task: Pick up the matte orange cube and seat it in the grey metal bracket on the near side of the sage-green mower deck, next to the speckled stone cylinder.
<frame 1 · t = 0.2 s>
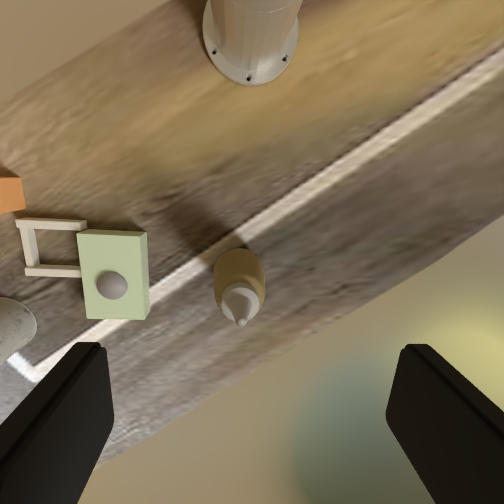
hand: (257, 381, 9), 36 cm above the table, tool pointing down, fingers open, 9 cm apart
speckled stone cylinder: (8, 321, 47), on the table
matte orange cube: (7, 192, 41), on the table
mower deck: (120, 271, 45), on the table
squeeze bottle: (238, 264, 46), on the table
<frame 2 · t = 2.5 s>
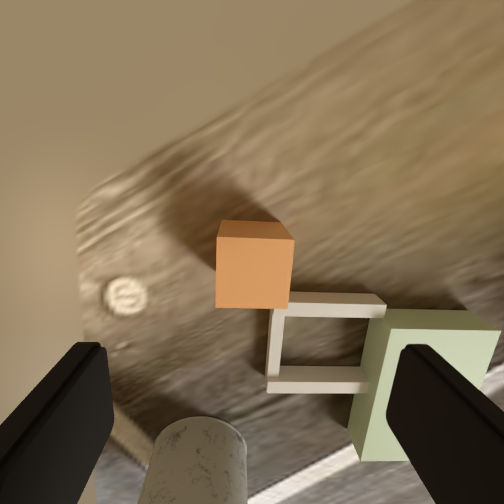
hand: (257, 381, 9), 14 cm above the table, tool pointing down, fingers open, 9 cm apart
speckled stone cylinder: (200, 449, 28), on the table
matte orange cube: (250, 249, 22), on the table
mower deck: (403, 373, 26), on the table
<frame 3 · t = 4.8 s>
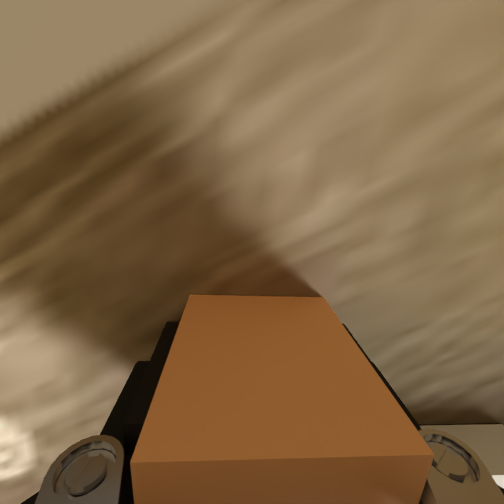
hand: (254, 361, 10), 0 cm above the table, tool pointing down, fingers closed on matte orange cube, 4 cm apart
matte orange cube: (254, 353, 10), on the table, touching gripper
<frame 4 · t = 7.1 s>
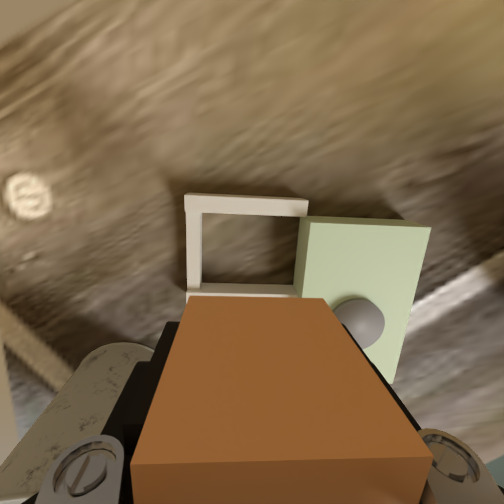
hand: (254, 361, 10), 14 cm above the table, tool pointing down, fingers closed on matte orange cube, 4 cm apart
speckled stone cylinder: (129, 382, 26), on the table
matte orange cube: (253, 353, 10), point 13 cm above the table, touching gripper
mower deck: (341, 294, 25), on the table
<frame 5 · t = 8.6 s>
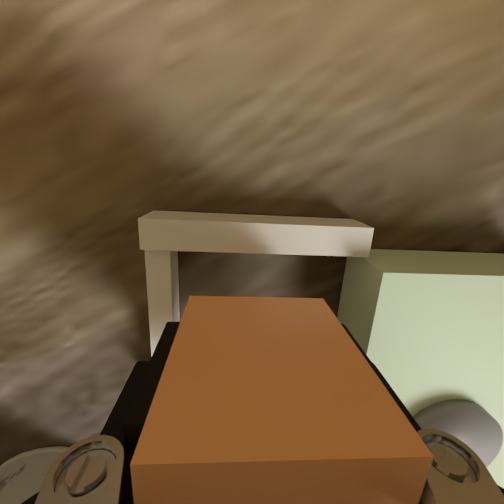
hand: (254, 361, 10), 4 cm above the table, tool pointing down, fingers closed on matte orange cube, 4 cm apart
speckled stone cylinder: (72, 499, 17), on the table
matte orange cube: (253, 354, 10), point 4 cm above the table, touching gripper
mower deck: (406, 370, 15), on the table
when the fingers open (3 cm above the table, at t = 9.7 s): matte orange cube drops 2 cm, resting in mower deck.
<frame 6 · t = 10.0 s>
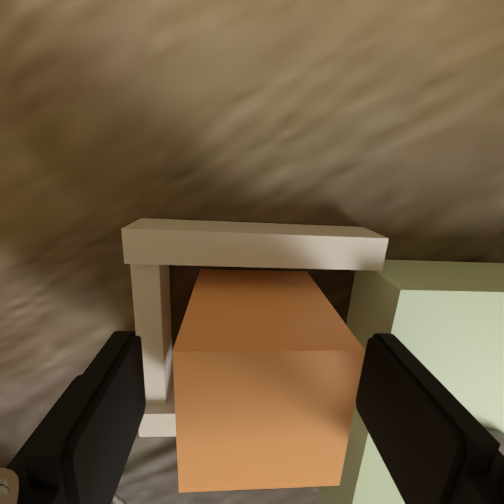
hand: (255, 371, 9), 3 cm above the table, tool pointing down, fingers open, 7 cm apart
matte orange cube: (251, 317, 12), resting in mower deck
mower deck: (419, 389, 14), on the table
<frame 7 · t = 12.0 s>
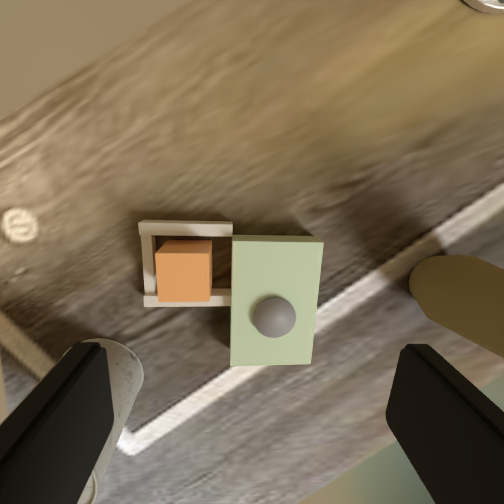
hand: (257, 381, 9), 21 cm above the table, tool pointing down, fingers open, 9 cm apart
speckled stone cylinder: (102, 372, 32), on the table
matte orange cube: (190, 260, 30), resting in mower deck
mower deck: (269, 294, 31), on the table
squeeze bottle: (429, 278, 33), on the table
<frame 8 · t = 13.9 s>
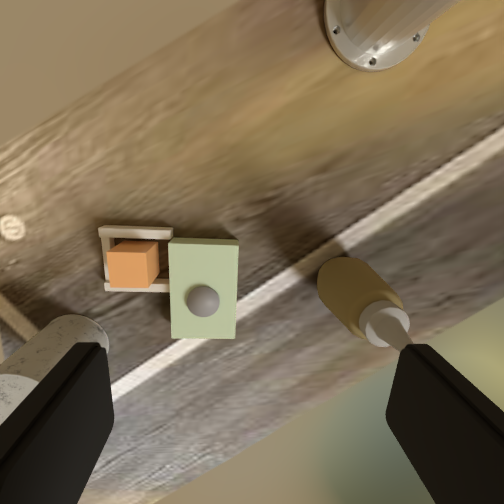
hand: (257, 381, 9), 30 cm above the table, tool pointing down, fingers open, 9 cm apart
speckled stone cylinder: (77, 341, 42), on the table
matte orange cube: (142, 256, 38), resting in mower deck
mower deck: (205, 284, 40), on the table
squeeze bottle: (335, 274, 41), on the table
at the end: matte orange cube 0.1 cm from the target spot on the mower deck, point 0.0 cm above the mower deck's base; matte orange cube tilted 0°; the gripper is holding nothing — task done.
